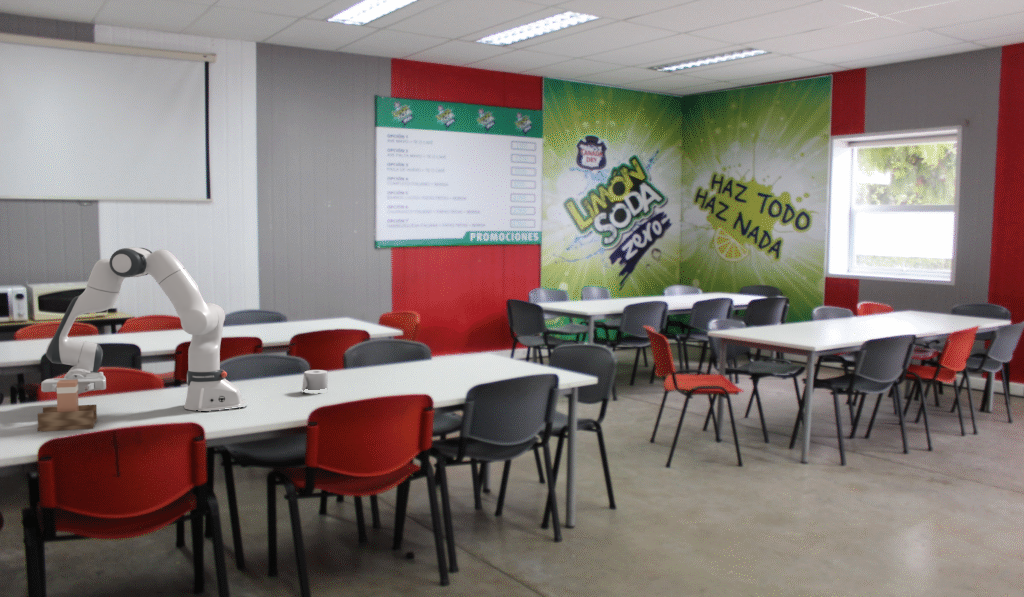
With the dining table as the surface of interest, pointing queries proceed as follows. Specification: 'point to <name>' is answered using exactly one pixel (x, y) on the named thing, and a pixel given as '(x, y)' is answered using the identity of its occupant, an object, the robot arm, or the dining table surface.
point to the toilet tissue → (315, 380)
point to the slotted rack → (67, 418)
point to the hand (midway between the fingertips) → (71, 388)
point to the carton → (67, 395)
